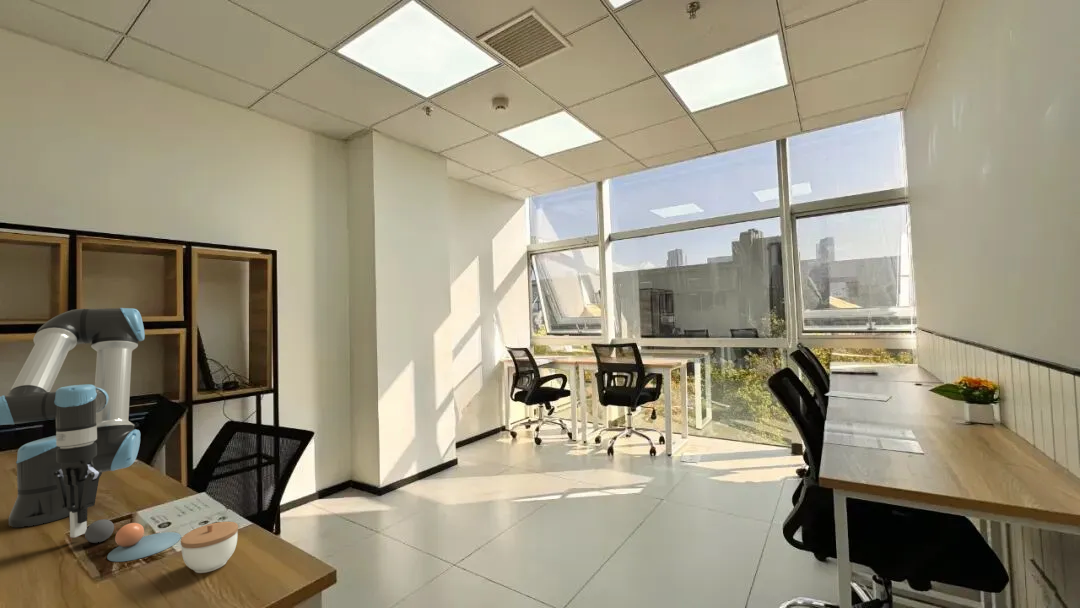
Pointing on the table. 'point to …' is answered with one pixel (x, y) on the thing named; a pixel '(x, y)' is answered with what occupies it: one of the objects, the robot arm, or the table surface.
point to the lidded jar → (209, 546)
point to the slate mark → (144, 547)
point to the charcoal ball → (99, 531)
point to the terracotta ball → (129, 534)
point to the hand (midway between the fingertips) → (78, 534)
